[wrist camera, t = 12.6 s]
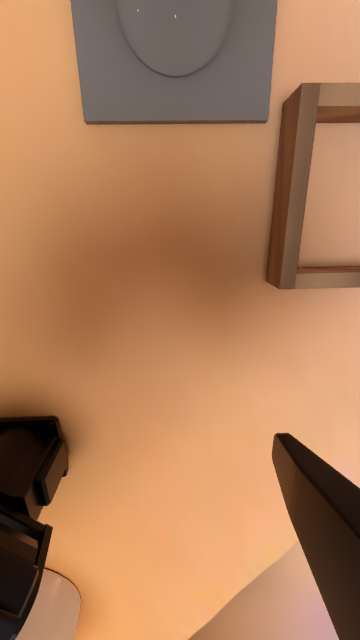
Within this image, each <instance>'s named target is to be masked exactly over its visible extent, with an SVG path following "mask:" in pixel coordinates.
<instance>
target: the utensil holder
mask: <svg viewBox="0 0 360 640" xmlns="http://www.w3.org/2000/svg"><path fill="white" fill-rule="evenodd" d="M80 607H81V598H80V594H79V592H78V590H77V588H76V587H75V586H74V585H73V584H72V583H71V582H70V581H69V580H68V579H66V578H64V577H63V576H61V575H59V574H57V573H55V572H52V571H50V570H46V569H44V570H43V575H42V579H41V584H40V587H39V591H38V594H37V597H36V599H35V602H34V604H33V607H32V609H31V611H30V614H29V616H28V618H27V620H26V622H25V624H24V626H23V627H22V629H21V631H20V633H19V634H18V636H17V638H16V639H15V640H74V638H75V633H76V628H77V623H78V618H79V613H80Z"/></svg>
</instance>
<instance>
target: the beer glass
mask: <svg viewBox="0 0 360 640" xmlns="http://www.w3.org/2000/svg"><path fill="white" fill-rule="evenodd" d="M116 3H117V10H118V16H119V21H120V24H121V28H122V31H123V33H124V36H125V38H126V40H127V42H128V44H129V46H130V47H131V49H132V50H133V52H134V53H135V55H136V56H137V57H138V58H139V59H140V60H141V61H142V62H143V63H144V64H145V65H146V66H147V67H149V68H150V69H152V70H154V71H155V72H158V73H160V74H163V75H166V76H173V77H179V76H186V75H189V74H192V73H194V72H196V71H198V70H200V69H201V68H203V67H204V66H205V65H207V64H208V63H209V62H210V61H211V60H212V59H213V57H214V56H215V55H216V53H217V52H218V50H219V49H220V47H221V45H222V44H223V42H224V39H225V37H226V34H227V32H228V28H229V25H230V20H231V15H232V8H233V0H116Z"/></svg>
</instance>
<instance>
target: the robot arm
mask: <svg viewBox="0 0 360 640" xmlns="http://www.w3.org/2000/svg"><path fill="white" fill-rule="evenodd" d="M50 422H52V423H53V424H51V423H50ZM272 460H273V464H274V467H275V470H276V474H277V477H278V481H279V484H280V487H281V491H282V494H283V497H284V501H285V504H286V507H287V510H288V514H289V516H290V519H291V522H292V524H293V527H294V529H295V532H296V534H297V536H298V539H299V541H300V544H301V546H302V549H303V551H304V553H305V556H306V559H307V561H308V564H309V566H310V569H311V571H312V573H313V576H314V578H315V581H316V583H317V586H318V588H319V591H320V593H321V595H322V598H323V601H324V603H325V605H326V608H327V611H328V613H329V616H330V618H331V620H332V623H333V625H334V628H335V630H336V633H337V635H338V638H339V640H360V488H359V487H357V486H356V485H355V484H353V483H352V482H351V481H350V480H348V479H347V478H346V477H344V476H343V475H342V474H341V473H339V472H338V471H337V470H335V469H334V468H333V467H332V466H330V465H329V464H328V463H326V462H325V461H324V460H323V459H321V458H320V457H319V456H317V455H316V454H315V453H314V452H312V451H311V450H310V449H308V448H307V447H306V446H305V445H303V444H302V443H301V442H299V441H298V440H297V439H296V438H294V437H293V436H292V435H290V434H289V433H276V434H275V435H274V440H273V448H272ZM67 464H68V457H67V452H66V447H65V442H64V440H63V439H62V437H61V432H60V427H59V422H58V419H57V418H55V417H31V418H6V419H0V640H15V639H16V638H17V636H18V634H19V633H20V631H21V629H22V627H23V626H24V624H25V622H26V620H27V618H28V616H29V614H30V611H31V609H32V607H33V604H34V602H35V599H36V597H37V594H38V591H39V587H40V584H41V579H42V575H43V570H44V566H45V561H46V556H47V552H48V547H49V543H50V538H51V534H52V529H53V527H51V526H49V525H48V524H45V525H44V524H42V523H40V522H39V521H37V519H38V517H39V515H40V513H41V510H42V508H43V506H48V505H49V504H50V503H51V502H52V499H53V497H54V494H55V492H56V490H57V487H58V485H59V483H60V480H61V478H62V477H65V476H66V475H67V472H68V466H67Z"/></svg>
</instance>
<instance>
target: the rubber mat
mask: <svg viewBox="0 0 360 640" xmlns="http://www.w3.org/2000/svg"><path fill="white" fill-rule="evenodd" d="M71 9H72V18H73V27H74V35H75V44H76V53H77V62H78V70H79V79H80V88H81V97H82V105H83V114H84V121H85V123H86V124H191V123H266V122H267V121H268V115H269V102H270V89H271V77H272V64H273V51H274V38H275V25H276V12H277V0H233V8H232V15H231V20H230V25H229V28H228V32H227V34H226V37H225V39H224V42H223V44H222V45H221V47H220V49H219V50H218V52H217V53H216V55H215V56H214V57H213V59H212V60H211V61H210V62H209V63H208V64H207V65H205V66H204V67H203V68H201V69H200V70H198V71H196V72H194V73H192V74H189V75H186V76H179V77H173V76H166V75H163V74H160V73H158V72H155V71H154V70H152V69H150V68H149V67H147V66H146V65H145V64H144V63H143V62H142V61H141V60H140V59H139V58H138V57H137V56H136V55H135V53H134V52H133V50H132V49H131V47H130V46H129V44H128V42H127V40H126V38H125V36H124V33H123V31H122V28H121V24H120V21H119V16H118V10H117V3H116V0H71Z"/></svg>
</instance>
